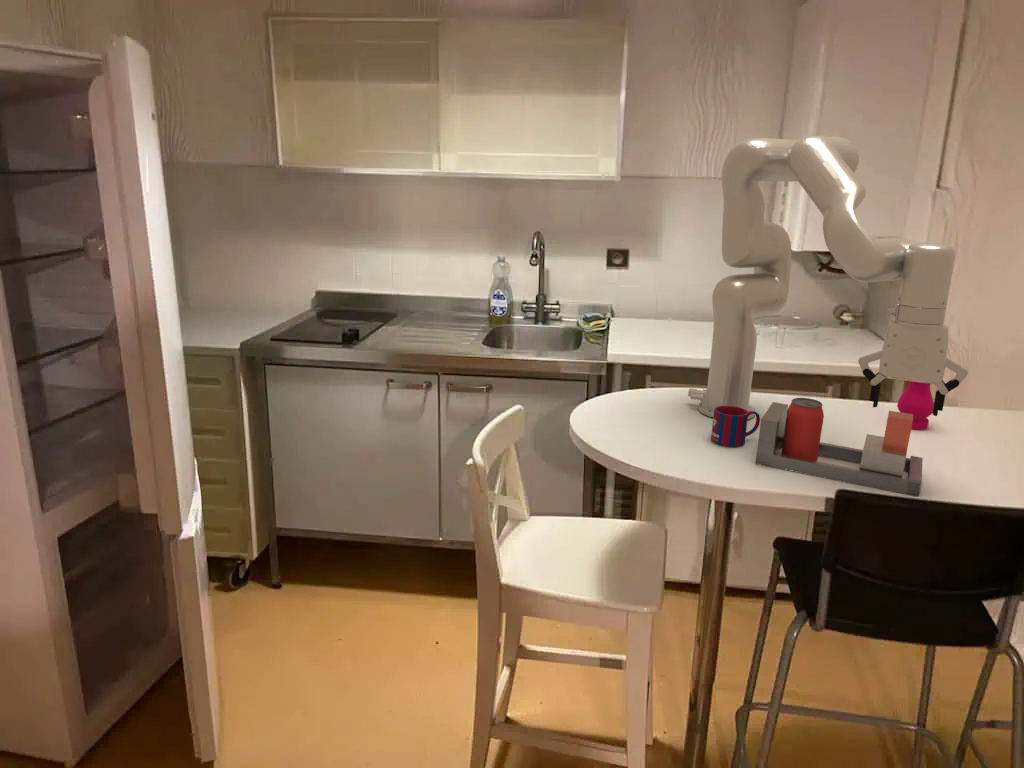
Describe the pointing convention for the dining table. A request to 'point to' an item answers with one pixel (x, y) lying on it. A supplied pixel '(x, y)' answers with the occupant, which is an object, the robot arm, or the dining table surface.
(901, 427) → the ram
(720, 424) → the mug
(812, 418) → the beer can
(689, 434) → the dining table surface
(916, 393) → the pepper mill
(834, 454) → the press frame
